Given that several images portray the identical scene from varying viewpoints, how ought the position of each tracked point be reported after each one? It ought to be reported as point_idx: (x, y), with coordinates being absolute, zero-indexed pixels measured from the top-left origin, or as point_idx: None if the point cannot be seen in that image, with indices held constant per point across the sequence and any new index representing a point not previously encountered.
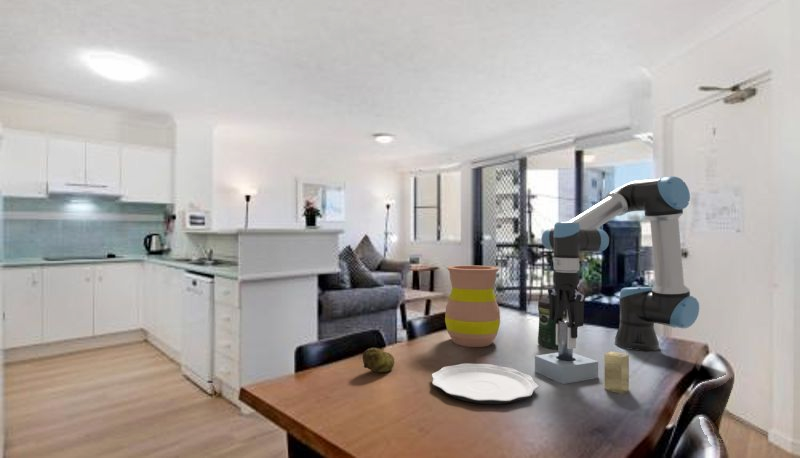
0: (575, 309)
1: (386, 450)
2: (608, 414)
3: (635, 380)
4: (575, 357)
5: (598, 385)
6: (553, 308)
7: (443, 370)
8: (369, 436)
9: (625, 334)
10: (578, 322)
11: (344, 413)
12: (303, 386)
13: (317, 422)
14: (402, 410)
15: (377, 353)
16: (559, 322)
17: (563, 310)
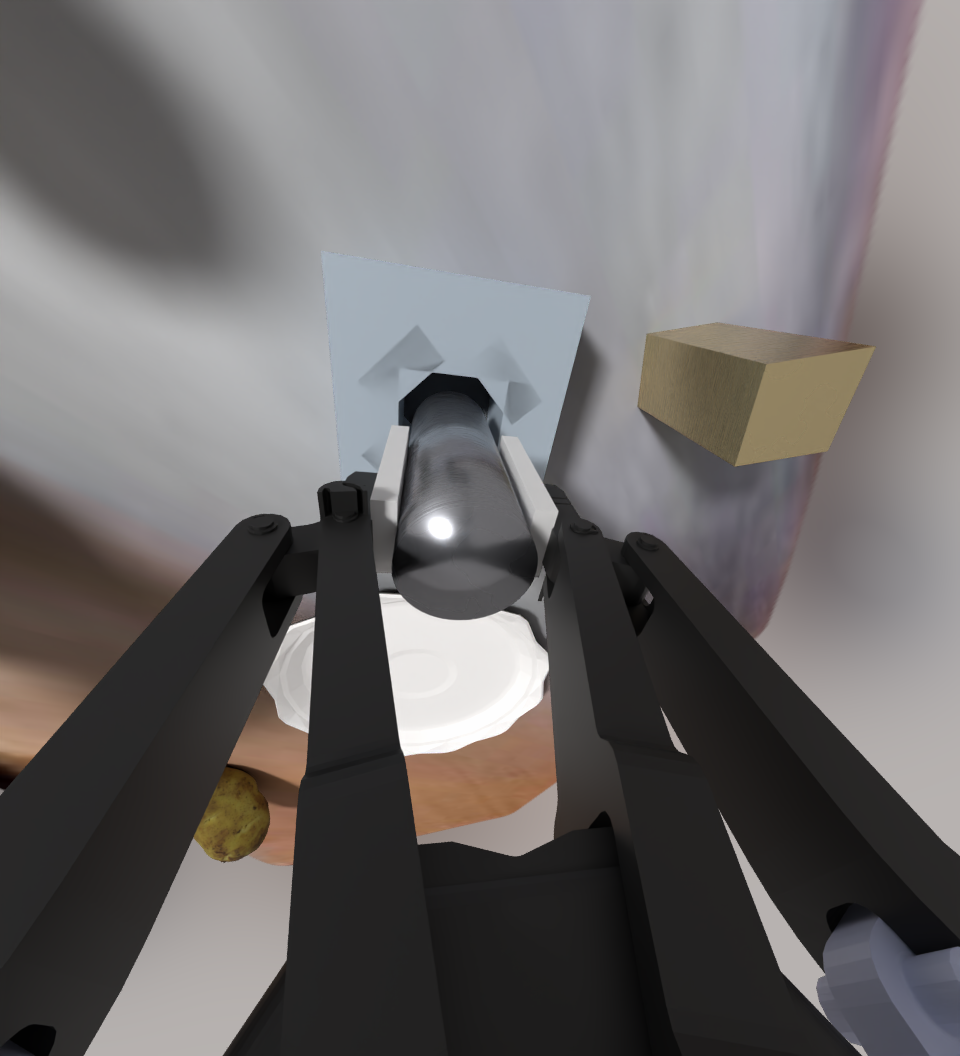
0: (698, 752)
1: (531, 798)
2: (704, 556)
3: (722, 95)
4: (462, 357)
5: (605, 391)
6: (246, 692)
7: (303, 722)
8: (494, 804)
9: None
10: (652, 611)
11: (419, 814)
12: (293, 837)
13: (430, 827)
14: (447, 778)
15: (251, 847)
16: (443, 611)
17: (382, 627)
